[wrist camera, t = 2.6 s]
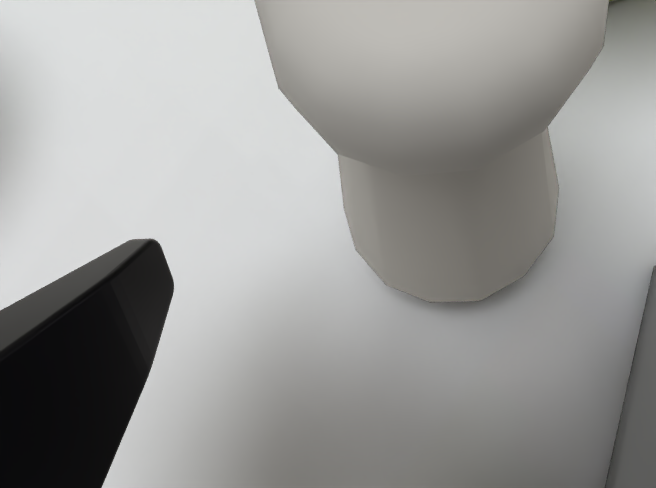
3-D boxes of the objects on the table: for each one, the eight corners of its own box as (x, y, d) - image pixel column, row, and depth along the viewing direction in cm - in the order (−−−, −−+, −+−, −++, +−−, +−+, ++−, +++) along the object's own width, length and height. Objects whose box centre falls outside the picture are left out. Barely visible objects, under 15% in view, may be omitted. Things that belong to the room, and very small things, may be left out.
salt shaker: (588, 224, 18) (882, -100, 5) (445, 349, 18) (403, 323, 6) (453, 97, 19) (436, -372, 7) (324, 214, 20) (84, -42, 7)
